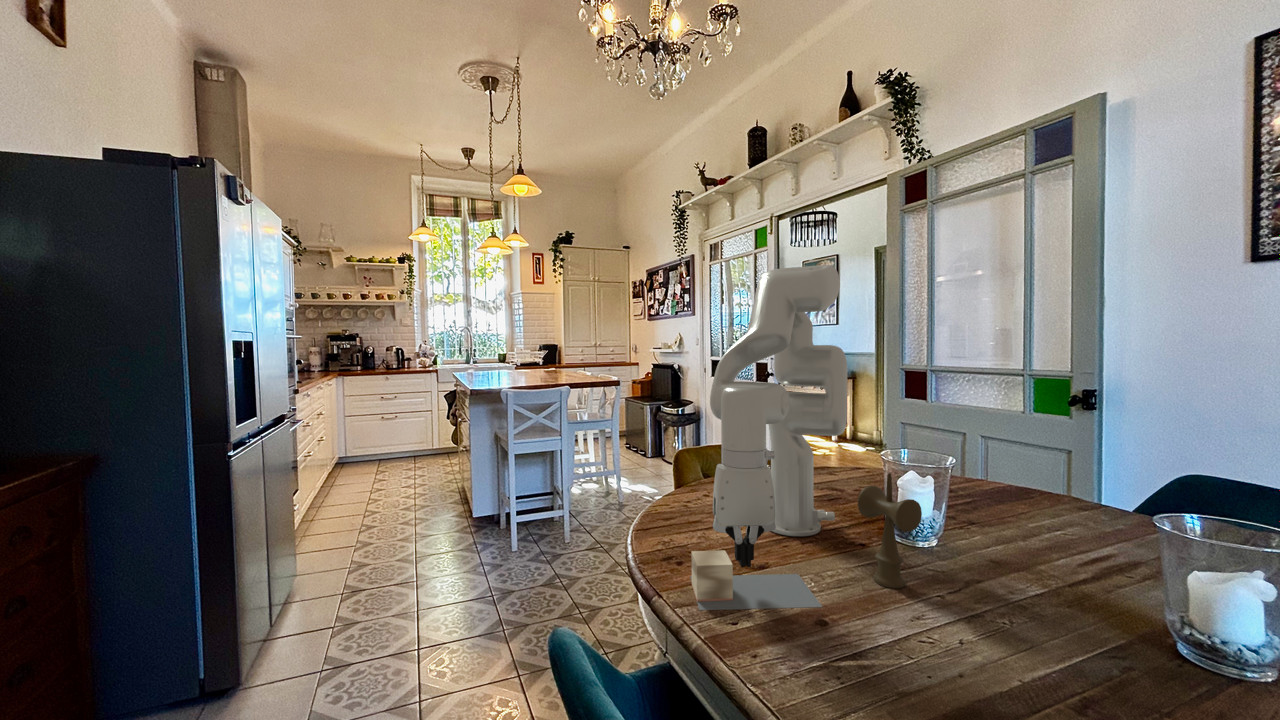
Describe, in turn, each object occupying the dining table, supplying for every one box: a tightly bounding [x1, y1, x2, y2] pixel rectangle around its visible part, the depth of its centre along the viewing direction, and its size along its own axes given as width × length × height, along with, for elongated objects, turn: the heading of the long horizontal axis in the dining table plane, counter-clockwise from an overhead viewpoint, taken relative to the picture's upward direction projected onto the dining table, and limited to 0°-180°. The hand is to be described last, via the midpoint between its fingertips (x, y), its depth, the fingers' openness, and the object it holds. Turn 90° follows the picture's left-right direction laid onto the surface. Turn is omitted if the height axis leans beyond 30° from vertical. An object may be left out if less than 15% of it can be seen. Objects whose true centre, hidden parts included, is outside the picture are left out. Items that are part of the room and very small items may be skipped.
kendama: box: [857, 472, 923, 589], centre depth 92 cm, size 6×10×20 cm, turn 20°
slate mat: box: [689, 573, 823, 611], centre depth 89 cm, size 20×12×1 cm, turn 92°
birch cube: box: [691, 549, 734, 602], centre depth 89 cm, size 6×6×6 cm
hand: (744, 563), depth 89 cm, fingers closed
